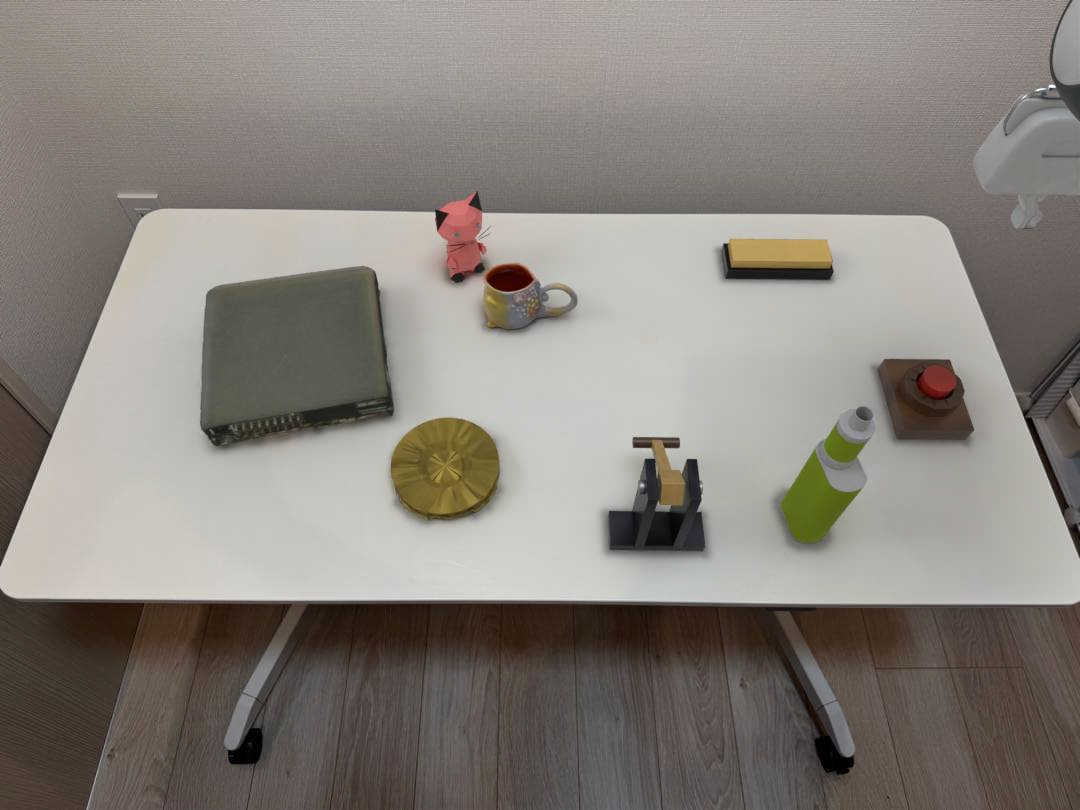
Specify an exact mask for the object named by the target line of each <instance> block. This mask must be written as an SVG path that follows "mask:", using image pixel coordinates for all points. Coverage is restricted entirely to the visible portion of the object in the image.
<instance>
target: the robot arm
mask: <svg viewBox="0 0 1080 810" xmlns="http://www.w3.org/2000/svg"><path fill="white" fill-rule="evenodd" d="M1048 60H1049V73H1050V76H1051V79H1052V81H1049V82H1045V83H1044V84H1043V85H1042V86H1041V87H1037V88H1035V89H1032V90H1030V91H1028V92H1027V93H1023V94H1021V95H1018V97H1017V98H1016V99H1015V100H1014V101H1013V103H1012V105H1011V106H1010V108H1009V109H1008V110H1007V112H1006V114H1005V115H1004V116H1003V117H1002V118H1001V119H1000V121H999V122H998V123H997V124H996V125H995V127H994V128H993V129H992V131H991V132H990V133H989V135H988V136H987V138H986V139H985V140H984V141H983V143H982V144H981V146H980V147H979V148H978V150H977V152H976V153H975V155H974V157H973V160H972V167H973V170H974V173H975V176H976V178H977V181H978V182H979V185H980V186H981V187H982V189H983V191H984V192H985V193H986V194H988V195H996V196H997V195H1000V196H1003V195H1005V196H1007V195H1008V196H1009V195H1010V196H1017V197H1018V203H1017V205H1016V206H1015V208H1014V209H1013V211H1012V212H1011V214H1010V221H1011V223H1012V225H1013V228H1014V229H1016V230H1033V229H1035V228H1036V227H1037V224H1038V223H1040V222H1041V221H1042V219H1043V218H1044V214H1043V212H1042V210H1040V209H1039V208H1040V206H1039V204H1038V203H1041V202H1044V200H1045V199H1046V198H1047V196H1080V0H1069V1H1068V2H1067V3H1066V6H1065V7H1064V9H1063V11H1062V13H1061V15H1060V18H1059V20H1058V21H1057V25H1056V27H1055V30H1054V33H1053V36H1052V40H1051V45H1050V49H1049V59H1048Z"/></svg>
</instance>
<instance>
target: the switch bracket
mask: <svg viewBox="0 0 1080 810" xmlns="http://www.w3.org/2000/svg"><path fill="white" fill-rule="evenodd" d="M681 474H682V477H683V480H684V482H685V489H684V500H683V505H682V506H681V505H669V509H668V511H662V510H661V511H660V510H659V511H657V510H656V509H657V507H658V503H659V498H658V486H657V466H656V462H655V458H654V457H652V458H651V457H650V458H649V457H645V458H644V461H643V465H642V469H641V474H640V477H639V479H638V481H637V489H636V492H635V497H634V500H633V505H632V509H631V510H608V515H607V519H608V520H607V521H608V524H607V525H608V545H609V546H608V547H609V548H608V549H609V550H610V551H689V552H690V551H692V552H693V551H694V552H695V551H696V552H697V551H698V552H702V551H705V548H706V540H705V532H704V523H703V513H702V511H698V510H699V508H700V505H701V504H702V501H703V498H702V495H703V492H704V484H703V483H704V482H703V481H702V480H700V472H699V463H698V459H697V458H687V459H686V461H685V463H684V466H683V469H682V471H681Z"/></svg>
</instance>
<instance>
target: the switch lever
mask: <svg viewBox="0 0 1080 810" xmlns="http://www.w3.org/2000/svg"><path fill="white" fill-rule="evenodd" d="M631 441H632V446H631V447H632V448H633V449H651V453H652V455H653V458H655V462H656V470H657V471H656V474H657V486H658V498H659V500H658V503H659V506H671V505H681V506H682V505H683V500H684V489H685V482H684V480H683V477H682V471H681V470H680V469H672V465H671V463H670V460H669V457H668V455H667V450H666V449H680V448H681V439H680V437H679V436H678V437H677V436H675V437H674V436H673V437H672V436H671V437H670V436H666V437H665V436H632V440H631Z"/></svg>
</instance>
